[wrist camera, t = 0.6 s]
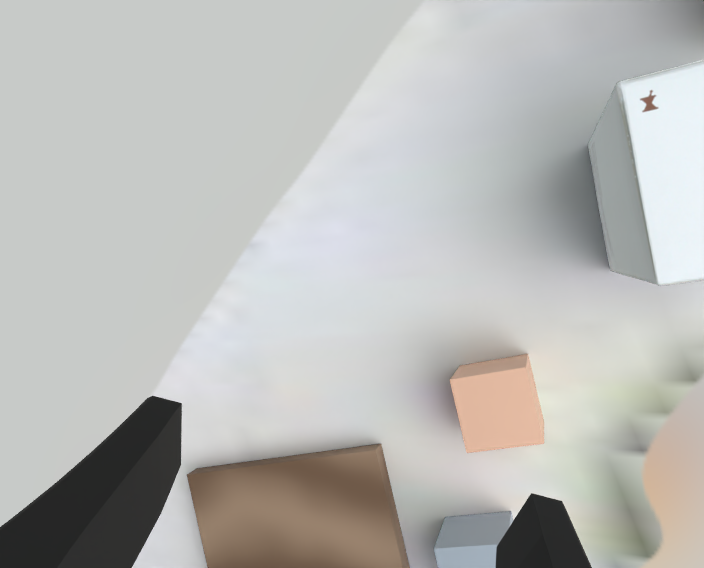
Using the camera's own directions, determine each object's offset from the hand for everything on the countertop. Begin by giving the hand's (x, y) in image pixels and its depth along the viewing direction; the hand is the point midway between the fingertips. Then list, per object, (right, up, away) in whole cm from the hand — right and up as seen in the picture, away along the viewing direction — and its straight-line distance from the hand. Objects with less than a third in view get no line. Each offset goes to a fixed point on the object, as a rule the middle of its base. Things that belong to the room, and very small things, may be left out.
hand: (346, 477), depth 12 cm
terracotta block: (+9, -2, +22) cm, 24 cm away
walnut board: (-3, -16, +26) cm, 31 cm away
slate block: (+8, -12, +23) cm, 27 cm away
